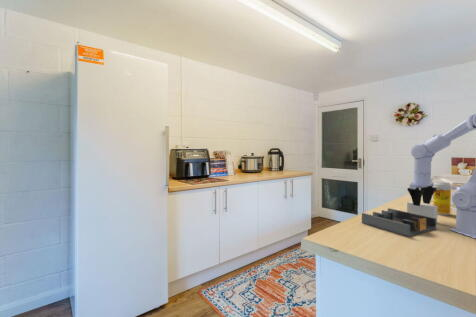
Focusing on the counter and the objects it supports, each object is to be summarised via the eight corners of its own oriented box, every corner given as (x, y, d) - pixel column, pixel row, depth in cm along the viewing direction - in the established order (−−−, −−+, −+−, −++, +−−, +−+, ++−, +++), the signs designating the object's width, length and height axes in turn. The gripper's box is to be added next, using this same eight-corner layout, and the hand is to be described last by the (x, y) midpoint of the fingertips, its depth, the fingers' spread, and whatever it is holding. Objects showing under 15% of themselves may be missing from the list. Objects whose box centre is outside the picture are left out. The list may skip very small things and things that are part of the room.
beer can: (430, 213, 112) (430, 181, 111) (437, 211, 114) (437, 181, 114) (445, 216, 106) (446, 183, 106) (452, 214, 109) (453, 182, 108)
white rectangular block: (437, 222, 98) (437, 206, 97) (433, 223, 96) (433, 207, 96) (410, 216, 107) (411, 201, 106) (406, 217, 105) (407, 202, 105)
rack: (436, 228, 90) (436, 216, 90) (408, 236, 82) (408, 222, 82) (388, 217, 106) (389, 206, 106) (361, 222, 99) (361, 210, 98)
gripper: (421, 171, 108) (420, 200, 108) (402, 173, 101) (401, 204, 102) (439, 172, 101) (439, 203, 102) (420, 174, 95) (419, 207, 96)
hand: (421, 204), depth 101 cm, fingers open, 7 cm apart
